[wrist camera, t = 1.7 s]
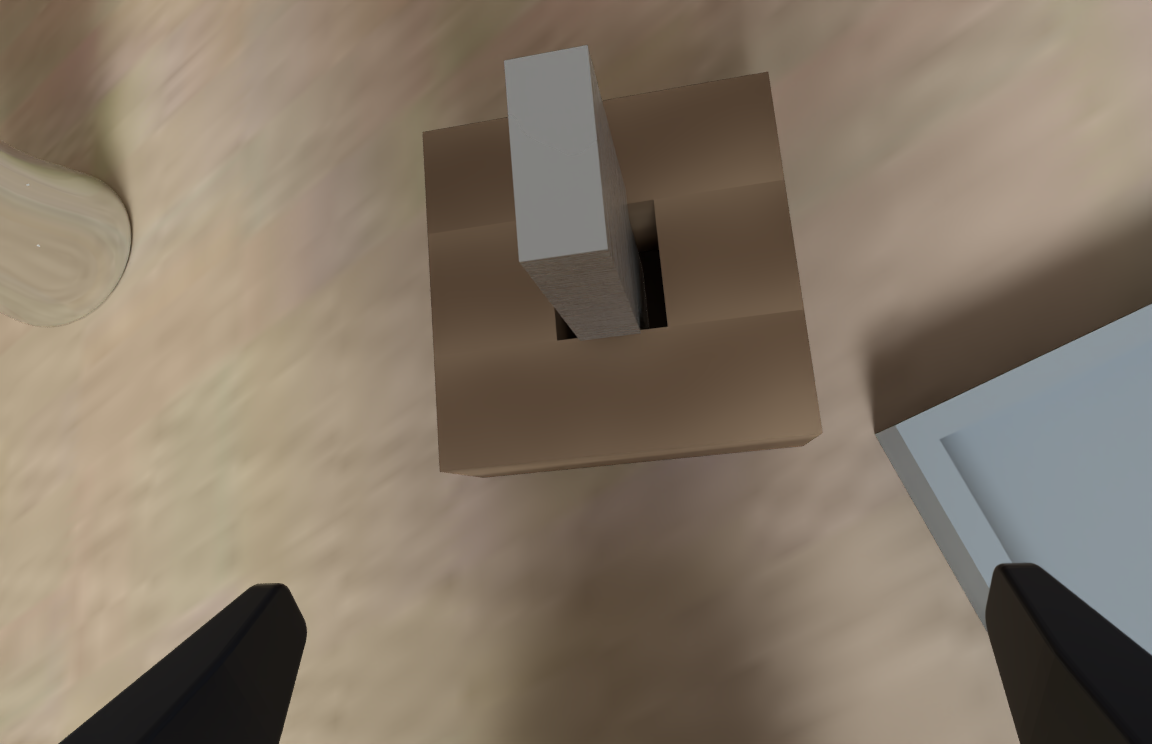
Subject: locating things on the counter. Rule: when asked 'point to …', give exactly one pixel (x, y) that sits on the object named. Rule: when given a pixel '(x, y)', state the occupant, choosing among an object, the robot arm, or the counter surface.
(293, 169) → the counter surface
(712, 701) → the counter surface
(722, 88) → the socket
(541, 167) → the grey rectangular block
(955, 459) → the tray
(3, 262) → the beer glass
